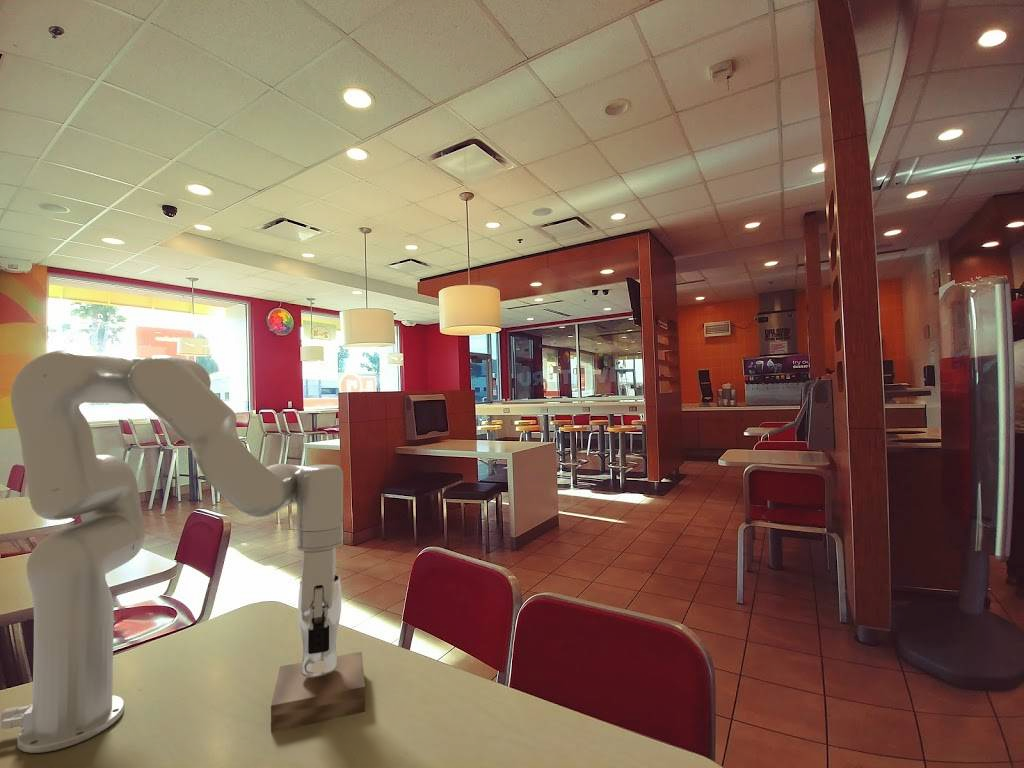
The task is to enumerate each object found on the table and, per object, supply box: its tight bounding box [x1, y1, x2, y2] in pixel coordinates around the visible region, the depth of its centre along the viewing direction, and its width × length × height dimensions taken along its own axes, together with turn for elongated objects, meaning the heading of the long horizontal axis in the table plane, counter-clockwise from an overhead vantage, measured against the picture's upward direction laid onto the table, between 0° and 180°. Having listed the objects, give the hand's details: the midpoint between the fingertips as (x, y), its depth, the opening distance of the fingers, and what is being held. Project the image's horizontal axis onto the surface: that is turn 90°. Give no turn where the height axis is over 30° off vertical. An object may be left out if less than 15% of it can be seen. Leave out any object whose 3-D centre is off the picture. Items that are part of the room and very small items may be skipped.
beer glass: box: [297, 573, 342, 678], centre depth 83 cm, size 7×7×15 cm
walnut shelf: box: [270, 651, 366, 733], centre depth 83 cm, size 14×12×4 cm
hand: (319, 641), depth 83 cm, fingers closed on beer glass, 6 cm apart
